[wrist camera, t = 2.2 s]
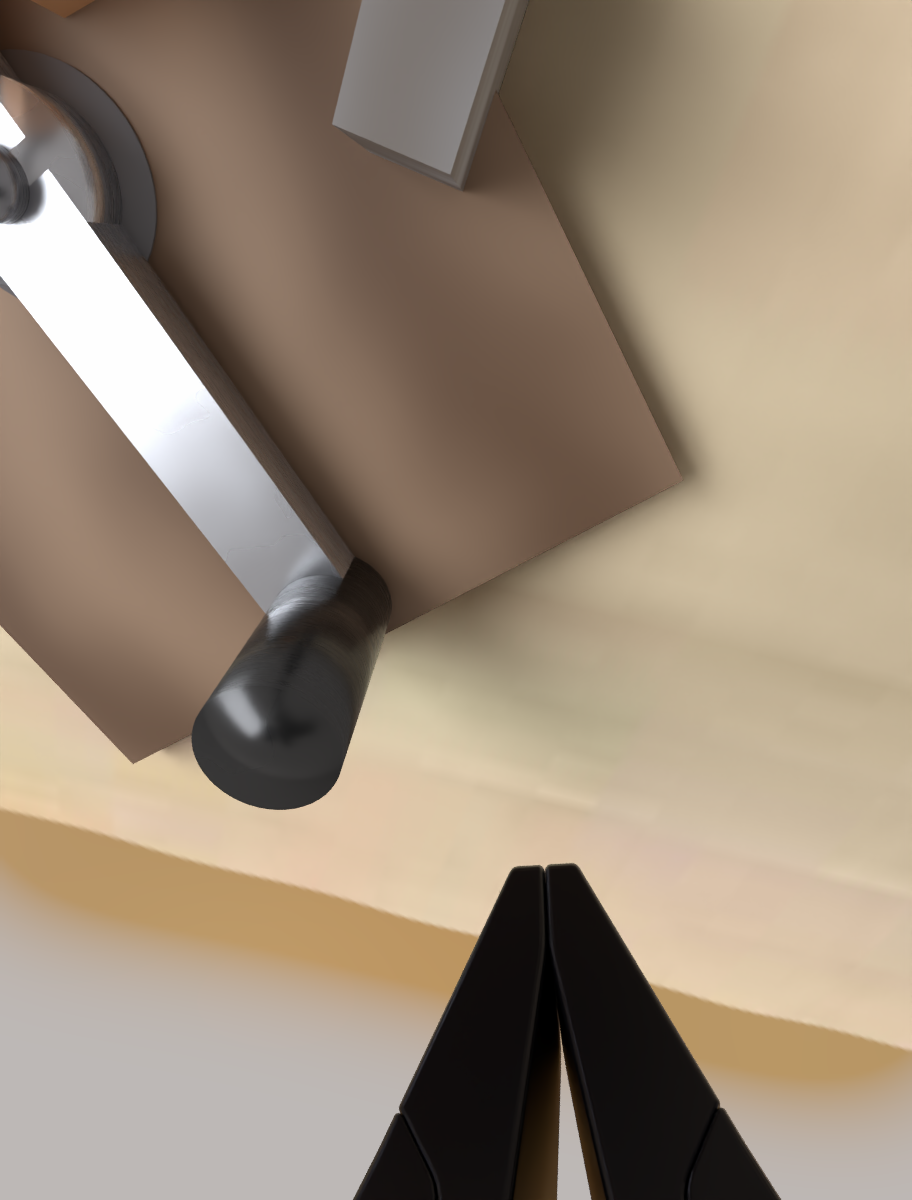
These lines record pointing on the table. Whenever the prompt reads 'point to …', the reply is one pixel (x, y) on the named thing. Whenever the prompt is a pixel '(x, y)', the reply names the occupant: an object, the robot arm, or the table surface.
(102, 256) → the lever
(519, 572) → the table surface
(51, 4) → the block
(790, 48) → the table surface
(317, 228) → the press bench
